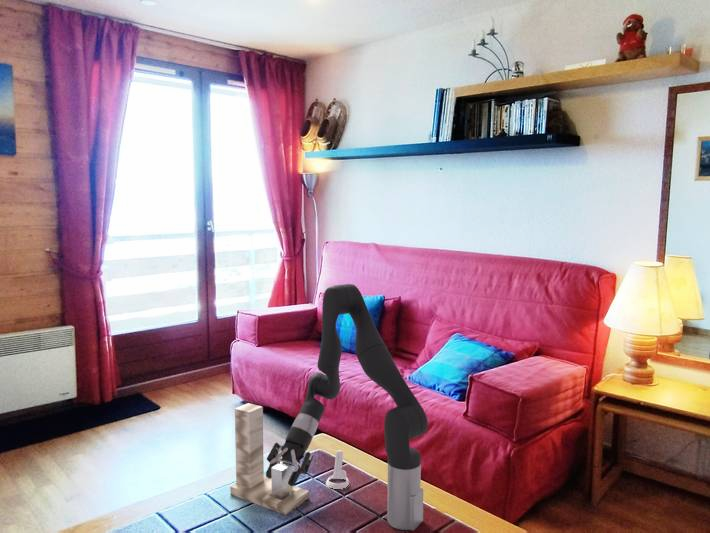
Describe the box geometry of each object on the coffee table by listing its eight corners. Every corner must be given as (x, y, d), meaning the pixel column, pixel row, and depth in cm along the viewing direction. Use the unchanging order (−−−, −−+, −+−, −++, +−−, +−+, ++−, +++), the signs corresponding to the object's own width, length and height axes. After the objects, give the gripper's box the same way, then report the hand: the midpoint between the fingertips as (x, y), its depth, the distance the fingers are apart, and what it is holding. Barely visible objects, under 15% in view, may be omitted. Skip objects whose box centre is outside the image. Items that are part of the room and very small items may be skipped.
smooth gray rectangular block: (292, 499, 168) (292, 464, 167) (282, 506, 164) (281, 470, 163) (282, 495, 170) (282, 461, 169) (271, 502, 166) (271, 467, 165)
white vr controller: (347, 456, 186) (354, 451, 181) (345, 494, 180) (351, 491, 174) (326, 453, 185) (331, 449, 179) (323, 491, 178) (328, 488, 173)
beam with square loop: (309, 498, 168) (308, 414, 166) (285, 515, 159) (284, 425, 157) (255, 480, 180) (253, 400, 178) (230, 494, 171) (228, 411, 168)
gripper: (279, 421, 175) (254, 470, 167) (315, 430, 168) (291, 482, 159) (290, 432, 180) (267, 480, 172) (325, 441, 172) (303, 492, 164)
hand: (279, 481), depth 165 cm, fingers open, 8 cm apart
